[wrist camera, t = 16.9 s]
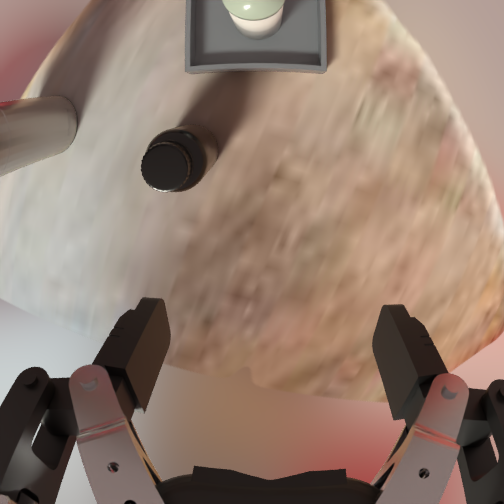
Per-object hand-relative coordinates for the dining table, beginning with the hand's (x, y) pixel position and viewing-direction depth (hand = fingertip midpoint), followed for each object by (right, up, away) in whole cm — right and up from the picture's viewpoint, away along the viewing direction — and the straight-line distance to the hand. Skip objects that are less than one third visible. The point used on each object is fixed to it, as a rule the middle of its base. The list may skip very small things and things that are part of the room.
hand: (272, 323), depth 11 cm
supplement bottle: (-8, +16, +27) cm, 32 cm away
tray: (0, +31, +18) cm, 36 cm away
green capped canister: (0, +30, +18) cm, 35 cm away
